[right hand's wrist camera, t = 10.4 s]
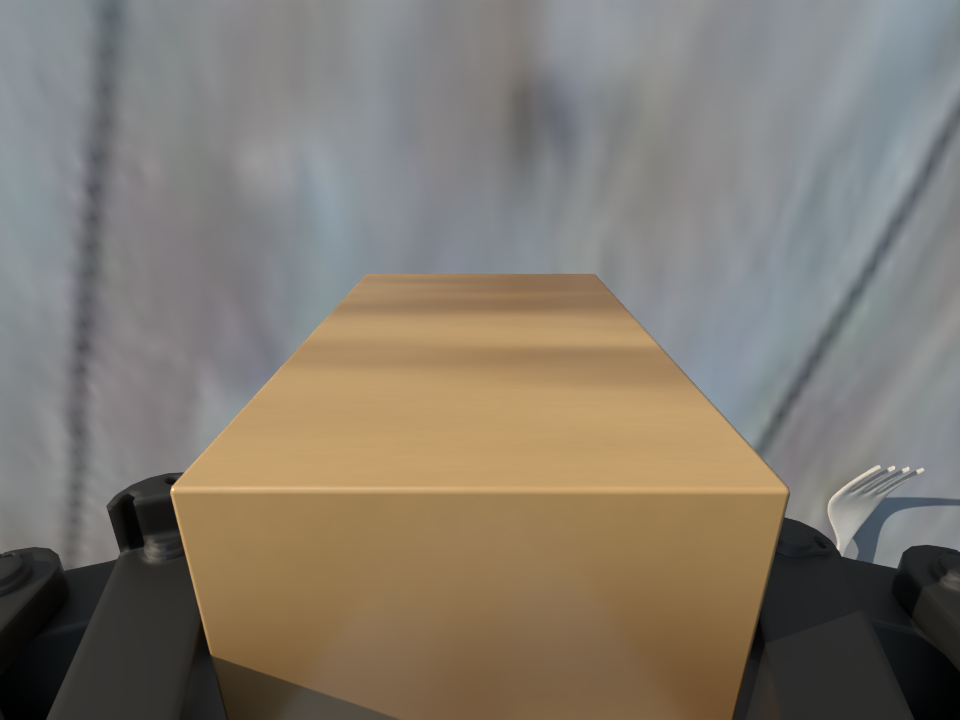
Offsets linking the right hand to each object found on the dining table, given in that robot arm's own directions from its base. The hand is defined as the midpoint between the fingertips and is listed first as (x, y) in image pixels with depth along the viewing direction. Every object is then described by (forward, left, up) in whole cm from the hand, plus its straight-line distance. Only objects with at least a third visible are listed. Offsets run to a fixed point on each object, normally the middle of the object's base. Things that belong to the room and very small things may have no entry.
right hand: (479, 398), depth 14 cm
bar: (+1, +9, -1) cm, 9 cm away
